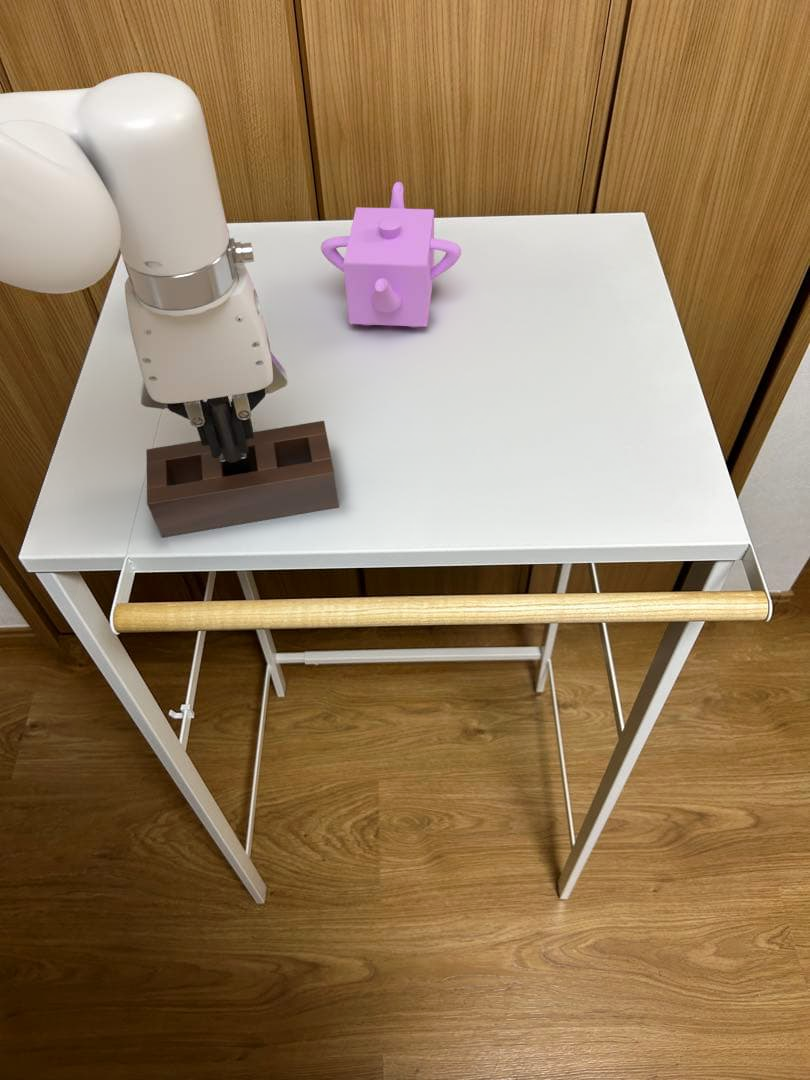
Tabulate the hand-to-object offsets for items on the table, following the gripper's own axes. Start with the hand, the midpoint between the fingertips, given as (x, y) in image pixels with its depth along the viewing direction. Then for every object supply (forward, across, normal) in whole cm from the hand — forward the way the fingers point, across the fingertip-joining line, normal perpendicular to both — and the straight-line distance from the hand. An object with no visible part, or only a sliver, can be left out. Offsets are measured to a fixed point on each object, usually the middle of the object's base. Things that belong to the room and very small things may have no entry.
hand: (229, 443), depth 74 cm
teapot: (+7, -19, -25) cm, 33 cm away
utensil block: (+8, 0, 0) cm, 8 cm away
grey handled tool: (+7, 0, 0) cm, 7 cm away
